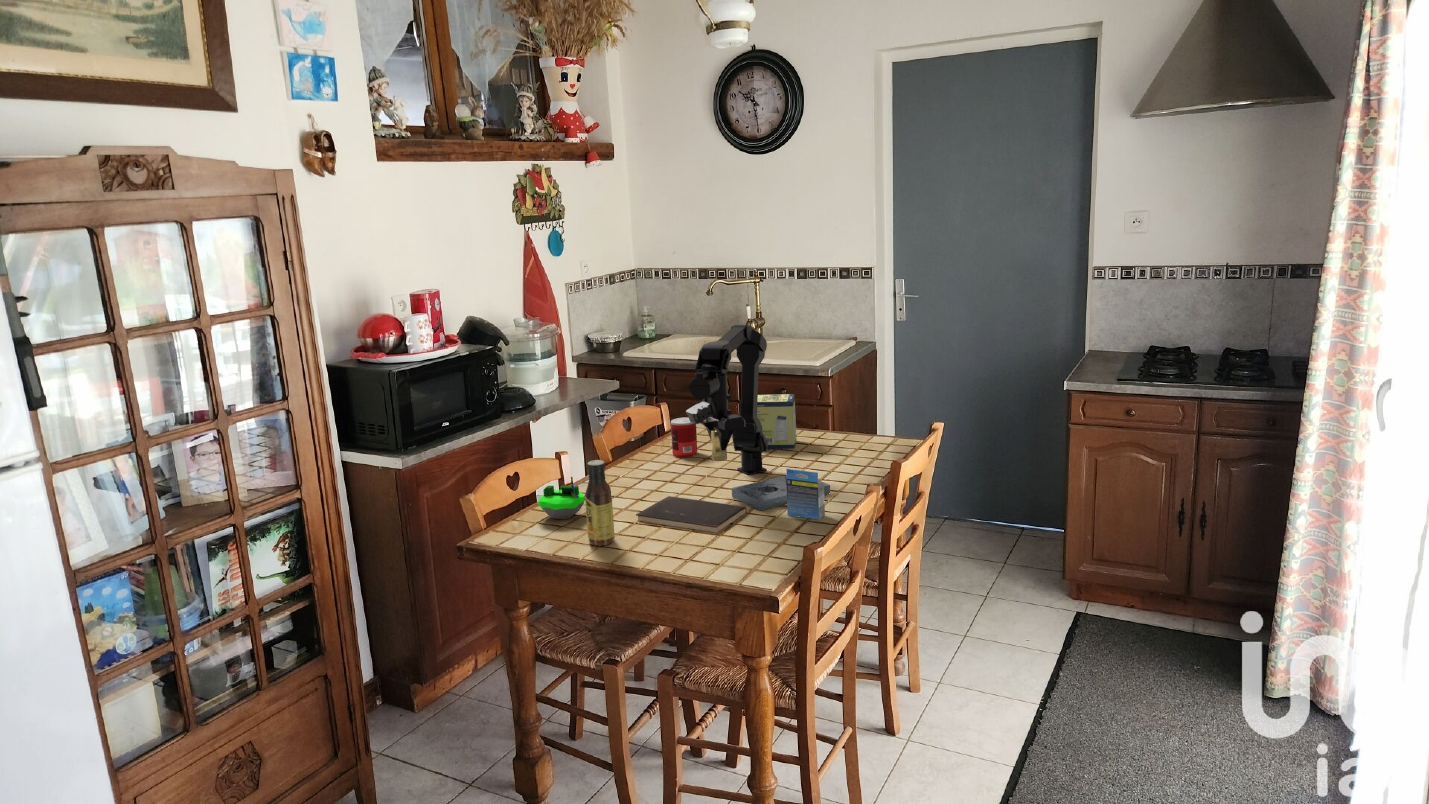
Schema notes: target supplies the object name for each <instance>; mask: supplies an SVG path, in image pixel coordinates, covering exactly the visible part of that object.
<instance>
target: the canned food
mask: <svg viewBox="0 0 1429 804" xmlns="http://www.w3.org/2000/svg"><path fill="white" fill-rule="evenodd" d="M670 433H671V451H672V452H671V453H672V454H673V456H674V457H676V458H683V459H684V458H691V457H692V458H693V457H695V456H696V455H697V454H698V433H697V424H695V423H694V422H690V420H689V418H688V416H687V417H686V416H685V417H677V418H674V419H672V420H670Z"/></svg>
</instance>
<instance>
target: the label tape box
mask: <svg viewBox="0 0 1429 804" xmlns="http://www.w3.org/2000/svg"><path fill="white" fill-rule="evenodd" d="M785 473H786V474H785V475H786V488H787V505H786V510H787V516H788V515H789V517H795V516H800V517H799V518H803V517H805V518H806V519H812V520H818V519H819V520H821V519H823V517H825V515H826V508H825V505H826V504H825V495H824V484H823V483H819V482H818V480H819V472H817V471H807V470H801V469H791V468H786V472H785ZM801 474H803V475H804V476H807V478H800V477H797V476H796V475H801ZM819 520H818V521H819Z"/></svg>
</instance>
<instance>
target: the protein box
mask: <svg viewBox="0 0 1429 804" xmlns="http://www.w3.org/2000/svg"><path fill="white" fill-rule="evenodd" d="M795 399H796V397H795V394H794V393H793V394H792V393H789V394H788V393H787V394H786V393H784V394H782V393H781V394H779V393H778V394H758V401H757V418H758V419H759V421H760V423H761V425H762V432H763V434H764V436H765V438H766V439H767V441H768V447H767V450H795V448H796V444H797V424H796V422H797V421H796V400H795Z"/></svg>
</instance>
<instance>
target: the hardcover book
mask: <svg viewBox="0 0 1429 804" xmlns="http://www.w3.org/2000/svg"><path fill="white" fill-rule="evenodd" d="M747 511H748V509H747V506H745V505H743V506H742V505H736V504H728V503H723V502H715V501H707V500H700V499H691V498H685V497H678V496H677V497H676V496H670V495H668V496H666V497H664V498H663V499H661V500H659V501H657V502H655V503H654V504H652V505H651V506H648V507H647V508H645V509H643V510H641V511H639V512H638V513H636V514H635V516H636V517H637V521H639V522H646V523H653V524H657V525H665V526H671V527H678V528H683V529H689V530H690V529H691V530H697V531H704V532H709V533H710V532H711V533H718V532H720V530H722V529H724V528H726V527H727V526H729V524H731V523H733V522H734V521H736V520H737V519H738V518H740V517H741V516H743V515H744V514H746V513H748V512H747Z"/></svg>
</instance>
